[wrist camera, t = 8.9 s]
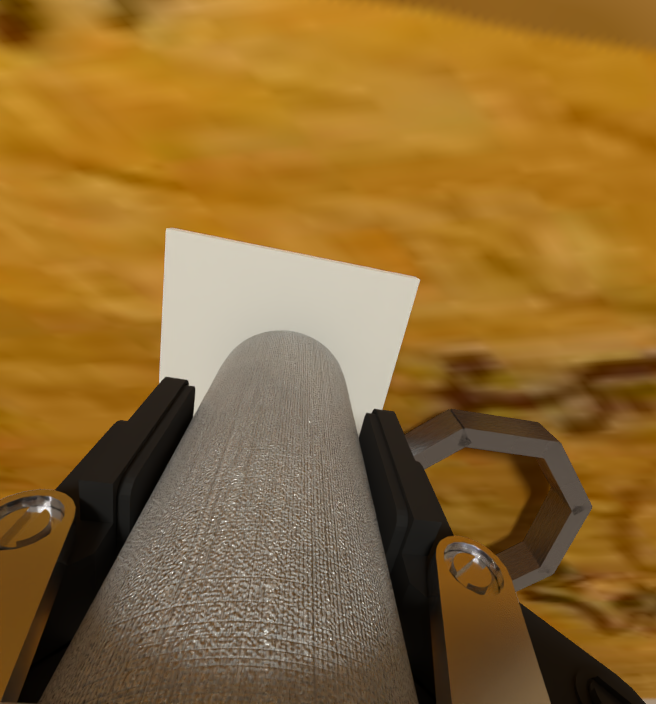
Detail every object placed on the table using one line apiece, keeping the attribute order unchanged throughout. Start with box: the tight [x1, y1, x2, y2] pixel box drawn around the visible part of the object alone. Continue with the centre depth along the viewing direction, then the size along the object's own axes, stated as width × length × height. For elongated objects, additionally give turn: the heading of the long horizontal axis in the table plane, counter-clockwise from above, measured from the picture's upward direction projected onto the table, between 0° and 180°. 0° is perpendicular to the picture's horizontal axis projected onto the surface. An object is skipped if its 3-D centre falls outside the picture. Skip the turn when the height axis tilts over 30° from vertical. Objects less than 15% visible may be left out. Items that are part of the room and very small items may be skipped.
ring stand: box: [405, 409, 592, 592], centre depth 14 cm, size 10×14×11 cm
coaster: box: [159, 228, 420, 438], centre depth 15 cm, size 9×9×1 cm
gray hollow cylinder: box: [37, 330, 419, 704], centre depth 8 cm, size 4×5×10 cm
